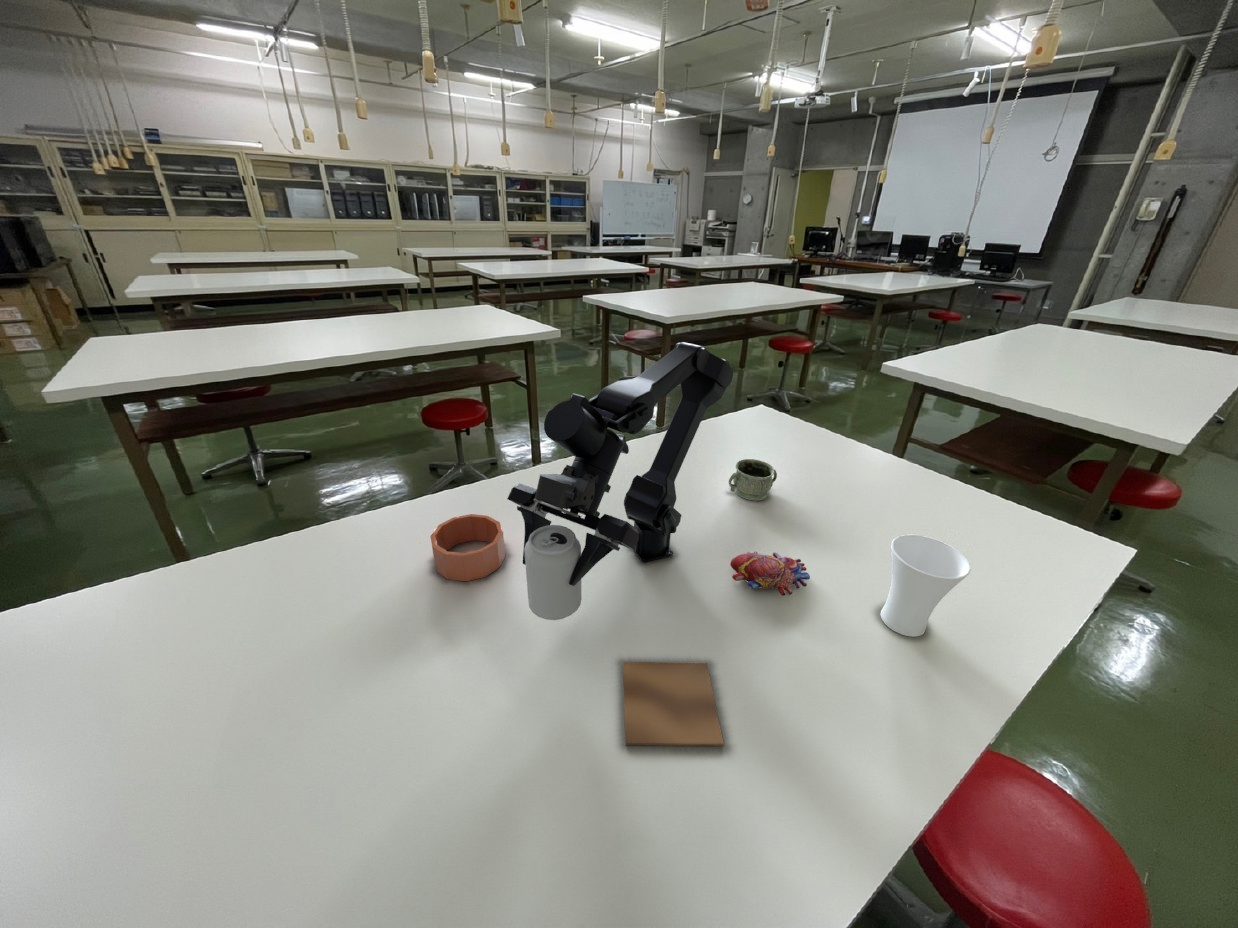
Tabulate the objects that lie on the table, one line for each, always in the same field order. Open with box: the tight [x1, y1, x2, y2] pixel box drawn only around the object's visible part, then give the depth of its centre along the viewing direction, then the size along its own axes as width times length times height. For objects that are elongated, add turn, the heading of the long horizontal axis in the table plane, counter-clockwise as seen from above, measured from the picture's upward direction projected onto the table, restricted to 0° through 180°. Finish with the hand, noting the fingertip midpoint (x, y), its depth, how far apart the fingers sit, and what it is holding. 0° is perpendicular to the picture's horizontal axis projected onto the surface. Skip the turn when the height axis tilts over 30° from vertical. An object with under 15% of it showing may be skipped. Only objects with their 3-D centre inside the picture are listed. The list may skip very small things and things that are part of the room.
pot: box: [430, 513, 506, 582], centre depth 89 cm, size 12×12×6 cm
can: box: [523, 524, 582, 621], centre depth 68 cm, size 8×8×12 cm
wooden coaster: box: [622, 661, 724, 747], centre depth 66 cm, size 12×12×1 cm
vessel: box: [728, 458, 778, 501], centre depth 113 cm, size 12×9×6 cm
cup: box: [880, 533, 972, 638], centre depth 77 cm, size 10×10×14 cm
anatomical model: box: [730, 551, 811, 596], centre depth 87 cm, size 11×4×15 cm
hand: (547, 574), depth 67 cm, fingers closed on can, 7 cm apart
